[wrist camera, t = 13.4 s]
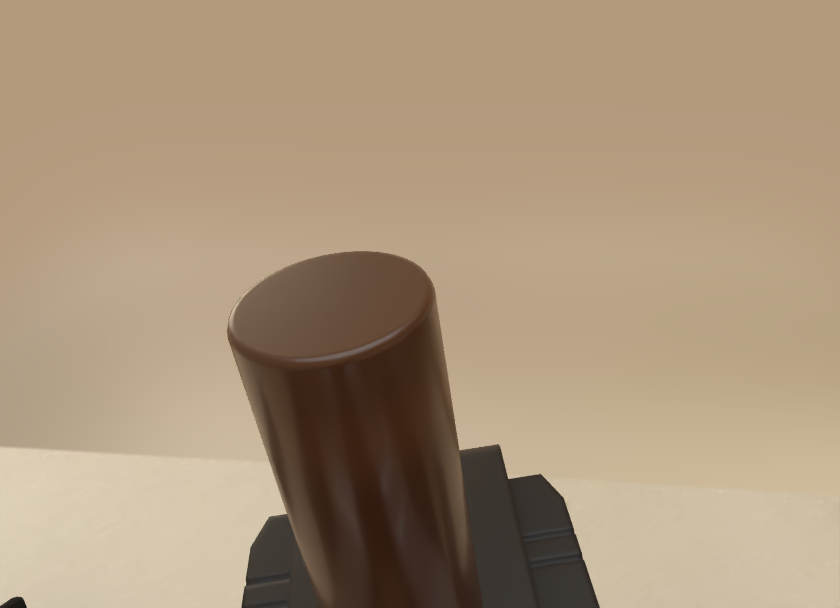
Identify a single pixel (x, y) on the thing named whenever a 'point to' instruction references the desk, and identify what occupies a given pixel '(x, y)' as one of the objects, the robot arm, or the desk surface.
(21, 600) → the electric trimmer
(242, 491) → the desk surface
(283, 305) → the stick
